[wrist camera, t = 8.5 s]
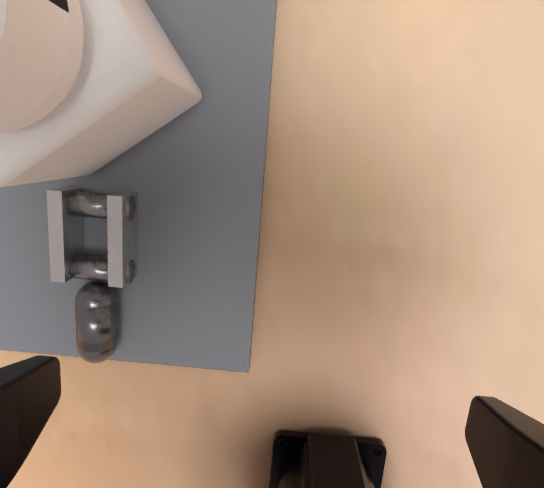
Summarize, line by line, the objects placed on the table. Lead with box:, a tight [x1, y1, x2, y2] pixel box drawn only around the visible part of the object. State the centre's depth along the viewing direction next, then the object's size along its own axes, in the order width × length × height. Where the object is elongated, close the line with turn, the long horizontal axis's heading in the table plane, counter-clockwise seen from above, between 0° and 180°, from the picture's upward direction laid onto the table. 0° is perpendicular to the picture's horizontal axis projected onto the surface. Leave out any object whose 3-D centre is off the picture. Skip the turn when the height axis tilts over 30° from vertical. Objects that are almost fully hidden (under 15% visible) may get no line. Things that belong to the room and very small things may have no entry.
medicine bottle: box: [0, 0, 202, 187], centre depth 13 cm, size 7×7×12 cm
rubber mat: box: [0, 0, 277, 372], centre depth 20 cm, size 30×16×1 cm, turn 175°
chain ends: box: [46, 186, 138, 363], centre depth 18 cm, size 29×4×2 cm, turn 175°
